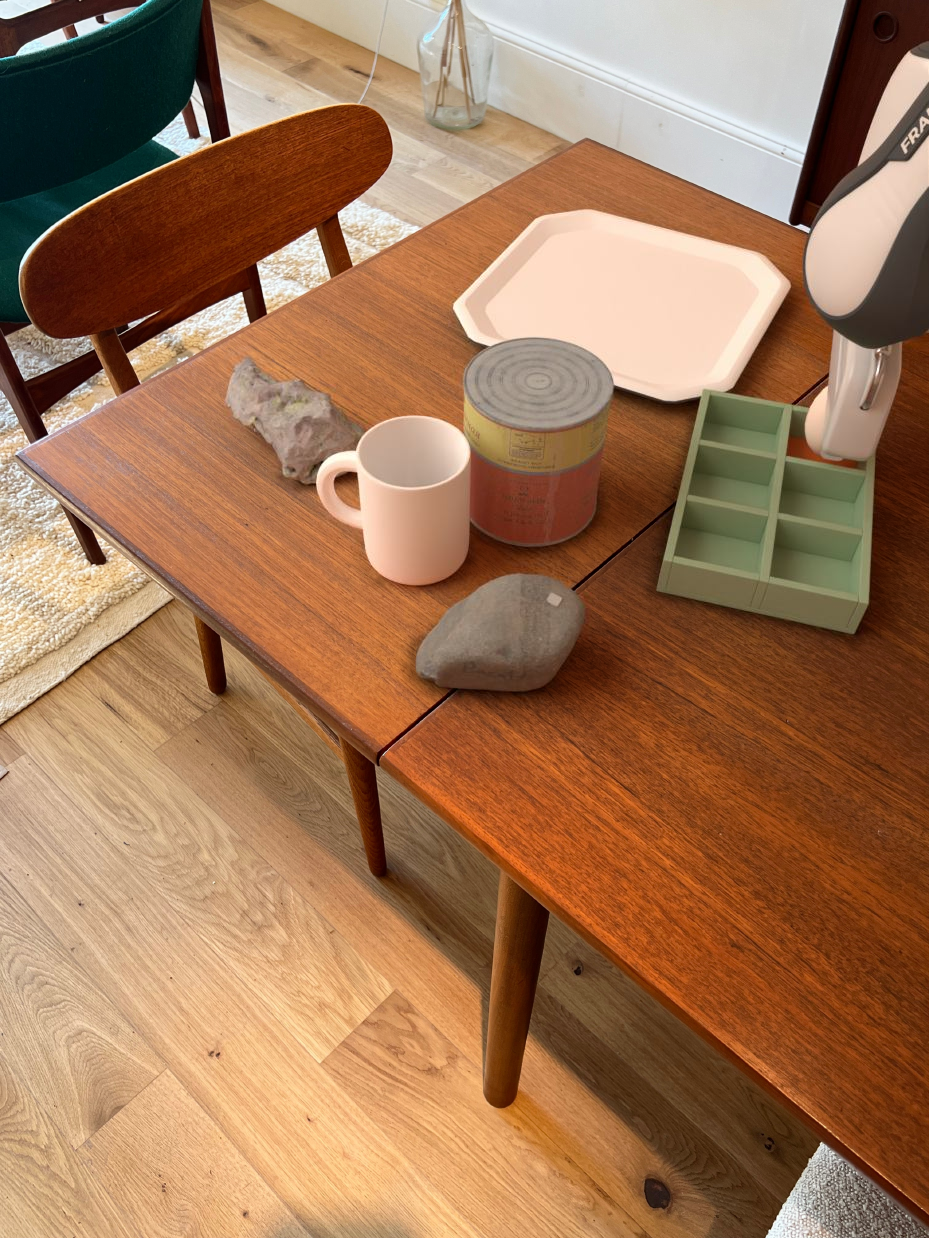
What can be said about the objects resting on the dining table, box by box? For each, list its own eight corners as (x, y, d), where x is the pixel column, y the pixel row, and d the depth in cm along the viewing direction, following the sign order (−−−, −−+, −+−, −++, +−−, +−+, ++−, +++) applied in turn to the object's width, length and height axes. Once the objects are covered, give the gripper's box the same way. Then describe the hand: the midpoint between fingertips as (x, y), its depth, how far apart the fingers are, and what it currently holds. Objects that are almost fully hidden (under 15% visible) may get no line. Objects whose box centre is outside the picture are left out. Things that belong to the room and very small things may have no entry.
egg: (815, 476, 83) (841, 404, 77) (785, 442, 86) (808, 370, 80) (863, 465, 84) (892, 392, 78) (832, 431, 87) (858, 359, 81)
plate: (799, 281, 106) (804, 262, 104) (711, 434, 89) (716, 414, 88) (552, 216, 115) (553, 197, 113) (430, 344, 98) (429, 325, 96)
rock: (199, 428, 89) (184, 365, 84) (260, 391, 93) (249, 329, 88) (321, 507, 83) (312, 444, 78) (381, 464, 86) (376, 401, 81)
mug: (306, 568, 78) (289, 468, 70) (341, 499, 83) (330, 398, 75) (453, 599, 76) (453, 499, 68) (480, 526, 81) (483, 425, 73)
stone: (437, 597, 76) (500, 526, 68) (534, 653, 78) (606, 590, 70) (400, 688, 70) (464, 622, 63) (506, 747, 72) (580, 689, 65)
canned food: (526, 438, 89) (534, 320, 80) (623, 500, 83) (644, 382, 74) (434, 497, 84) (431, 379, 74) (531, 568, 78) (542, 449, 69)
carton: (864, 451, 88) (877, 419, 85) (854, 634, 74) (869, 603, 72) (695, 419, 91) (703, 388, 88) (655, 591, 77) (663, 559, 74)
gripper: (934, 369, 65) (868, 522, 76) (931, 221, 78) (875, 370, 89) (835, 352, 66) (783, 505, 77) (849, 210, 79) (803, 358, 90)
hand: (833, 432), depth 83 cm, fingers closed on egg, 5 cm apart
